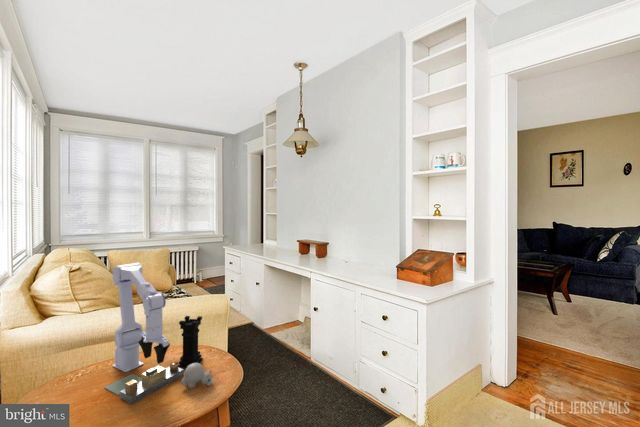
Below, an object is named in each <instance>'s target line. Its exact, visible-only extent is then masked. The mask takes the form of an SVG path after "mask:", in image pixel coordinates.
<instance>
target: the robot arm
mask: <svg viewBox="0 0 640 427" xmlns="http://www.w3.org/2000/svg"><path fill="white" fill-rule="evenodd" d="M112 281H113V285H114V286H117V287H118V296H119V307H120V317H121V324H120V325H119V326H118V327H117V328H116V329H115V331H114V344H115V347H116V348H115V351H114V364H113V365H112V367H113V368H116V369H118V370H121V371H122V372H123V373H128V372H130V371H131V370H134V369H137V368H139V367H141V366H142V365H144V362H142V361H140V347H141V350H142V353H143V357H144V359H148V358H150V357H152V347H153V350H154V352H155V354H156V355H155V356H156V363H157V364H158V365H159V364H161V363H162V364H163V363H164V360H165V357H166V354H167V351H168V349H169V347H170V346H171V343H170V340H169V339H167V338H166V337H165V335H164V334H163V309H164V308H165V307H166V303H167V301H166V297H165V294H164V293H163V292H160V291H157V290H156V289H155V287H154V286H153V284H152V283H151V282H147V281H146V280H145V278H144V275H143V266H142V264H141V263H140V262H134V263H128V264H127V263H125V264H121V265H115V266H114V267H113V270H112ZM133 285H134V286H135V287H136V293H137V295H138V296H139V298H140V299H141V300H142V307H143V312H144V316H145V331H144V330H143V326H142V324H141V323H139V322H137V321H136V317H135V307H134V298H133V289H132V286H133ZM154 343H155V344H158V345H156V346H153V344H154Z"/></svg>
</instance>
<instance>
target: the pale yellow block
mask: <svg viewBox="0 0 640 427" xmlns="http://www.w3.org/2000/svg"><path fill="white" fill-rule="evenodd" d="M166 368H167V367H163V366H161V365H156V366H154V367H151V368H149V369H147V370H145V372H143V373H141V378H142V383H144V384H146V385H148V386H150V385H152V384H154V383H156V382H158V381H160V380H162V379H163V378H165V377H166Z"/></svg>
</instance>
